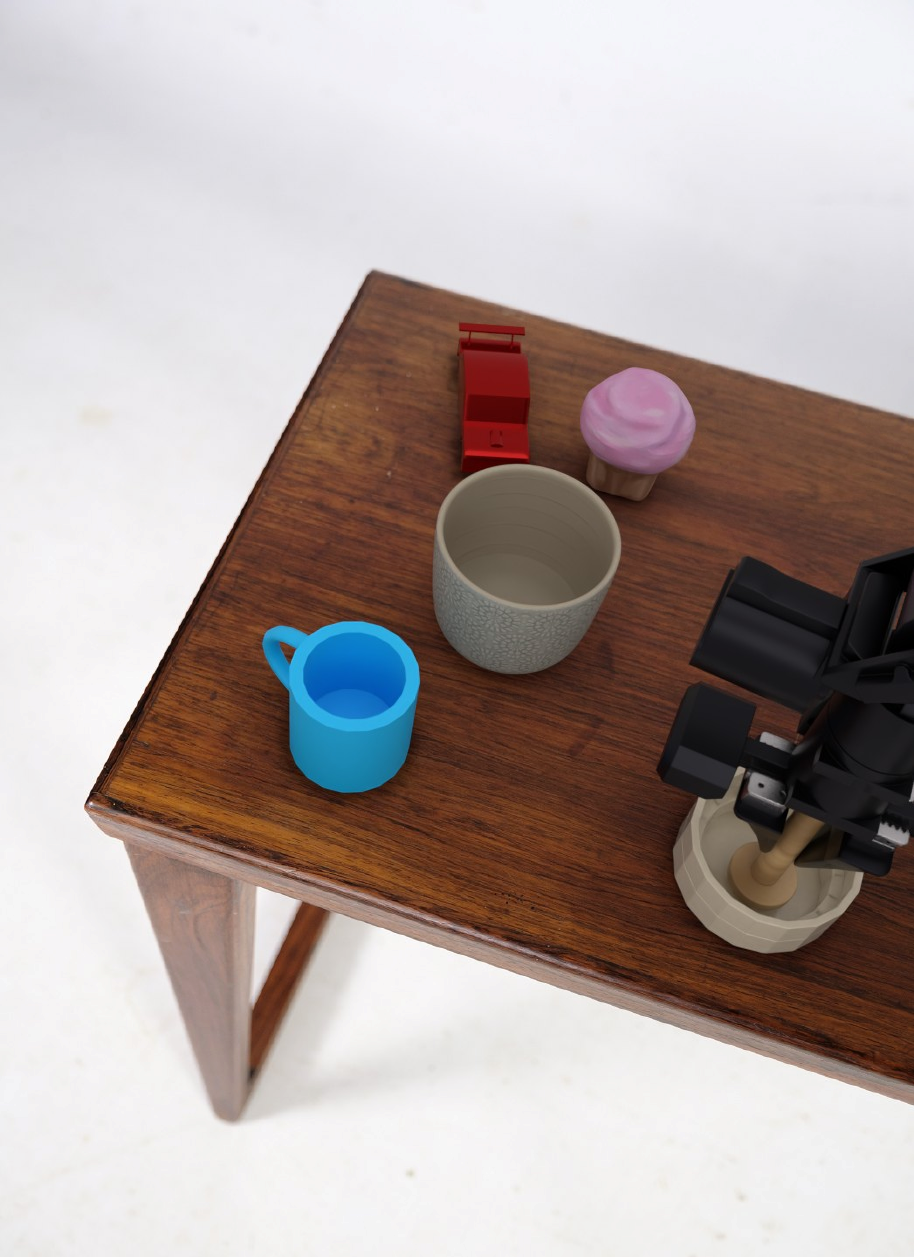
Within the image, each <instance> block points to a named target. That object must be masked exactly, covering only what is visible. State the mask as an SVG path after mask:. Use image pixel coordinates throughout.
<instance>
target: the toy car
mask: <svg viewBox="0 0 914 1257" xmlns="http://www.w3.org/2000/svg"><path fill="white" fill-rule="evenodd" d="M458 332H466V333H468V337H465V336H464V337H463V336H460V337H459V339H458V343H457V349H456V357H458V364H457V365H458V367H457V393H458V394H457V395H458V397H457V399H458V420H459V421H458V422H459V424H458V425H459V440H460V441H461V442H462V443H461V452H460V453H461V454H460V457H461V460H460V470H461V473H471V474H474V473H476V472H479V471H481V470H484V469H487V468H491V467H495V466H500V465H509V464H527V465H530V461H531V453H530V440H529V427H528V425H529V424H528V422H529V416H530V406H531V384H530V374H529V372H530V370H529V362H528V357H527V354H526V353H522V352H523V351H522V343H521V340H520V341H519V340H514V338H515V336H520V337H526V328H525V326H515V325H503V324H502V325H500V324H490V323H489V324H486V323H474V322H462V321H461V322H460V321H459V322H458ZM472 333H480V334H492V335H507V336H510V340H507V339H506V340H505V339H493V338H492V339H491V338H477V337H472Z"/></svg>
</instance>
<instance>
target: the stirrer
mask: <svg viewBox="0 0 914 1257" xmlns="http://www.w3.org/2000/svg"><path fill="white" fill-rule="evenodd" d="M824 824H825V823H824V822H821V821H819V820H816V819H814V818H812V817H809V816H807V815H804V814H802V813H800V812H797V811H795V810H794V811H793V812H792V813H791V815H790V816H789V817H788V819H787V820H786V822H785V826H784V829H783V833H782V835H781V837H780V838H779V840H778V841H777V843H776V844H775V846H774V847H773V849H772V850H771V851H770V852H767V853H764V852H761V851H760V848H759V844H758V842H750V843H747V844H744V845H743V846H741V847H740V848H738V849H737V850H736V852H735V853H734V854H733V856H732V857H731V859H730V861H729V863H728V868H727V875H728V880H729V883H730V886H731V888H732V890H733V891H734V893H735V894H736V895H737V897H738V898H739V899H740V900H742V901H743V902H744V903H746V904H747V905H749V906H751V907H753V908H756V909H760V910H774V909H778V908H780V907H782V906H784V905H785V904H786V903H787V902H788V901H789V900H790V899H791V898H792V897H793V895H794V894H795V892H796V889H797V885H798V875H797V871H796V868H795V866H794V864H793V861H794V860H795V859H796V858H797V857H798V855H799V854H800V853H801V852H802V851H803V849H804V848H805V847H806V846H807V845H808V843H809V842H810V841H811V840H812V839H813V837H814V836H815V835H816V834H817V833H818V831H819V830H820V829H821V828H822V827H823V825H824Z"/></svg>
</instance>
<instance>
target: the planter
mask: <svg viewBox="0 0 914 1257" xmlns="http://www.w3.org/2000/svg"><path fill="white" fill-rule="evenodd" d="M621 555H622V537H621V532H620V529H619V526H618V523H617V520H616V519H615V517H614V515H613V513H612V511H611V510H610V508H609V506H607V504H606V503H605V501H604V500H603V499H602V498H601V497H600V496H599V495H598V494H597V493H595V492H594V490H592V489H591V488H590V487H589V486H587V485H586V484H584V483H582V482H581V481H580V480H578V479H576V478H574V477H572V476H570V475H569V474H566V473H564V472H561V471H558V470H555V469H552V468H549V467H545V466H540V465H534V464H529V465H527V464H509V465H500V466H495V467H491V468H487V469H484V470H481V471H479V472H476V473H471V474H470V475H468V476H467V477H465V478H463V479H462V480H461V481H460V482H459V483H457V484H456V485H455V486H454V487H453V488H452V489H451V490H450V491H449V493H448V494H447V495H446V497H445V498H444V500H443V501H442V503H441V505H440V508H439V511H438V515H437V518H436V523H435V532H434V540H433V555H432V601H433V608H434V609H433V610H434V615H435V618H436V622H437V624H438V626H439V629H440V630H441V632H442V634H443V636H444V637H445V639H446V641H447V642H448V643H449V645H450V646H451V647H452V648H453V649H454V650H455V651H456V652H457V653H458V654H460V655H461V656H462V657H463V658H464V659H466V660H468V661H469V662H471V663H473V664H474V665H476V666H477V667H480V668H483V669H485V670H487V671H492V672H495V673H500V674H506V675H526V674H527V675H528V674H533V673H537V672H540V671H543V670H546V669H549V668H550V667H553V666H555V665H557V664H558V663H560V662H561V661H563V660H564V659H565V658H566V657H568V656H569V655H570V654H571V653H572V652H573V651H574V650H575V649H576V647H578V645H579V643H580V642H582V639H583V638H584V637H585V635H586V633H587V632H588V630H589V629H590V627H591V625H592V624H593V622H594V620H595V618H596V616H597V614H598V612H599V610H600V608H601V606H602V604H603V602H604V600H605V598H606V596H607V594H608V591H609V590H610V587H611V585H612V583H613V580H614V579H615V576H616V573H617V571H618V567H619V564H620V561H621Z"/></svg>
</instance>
